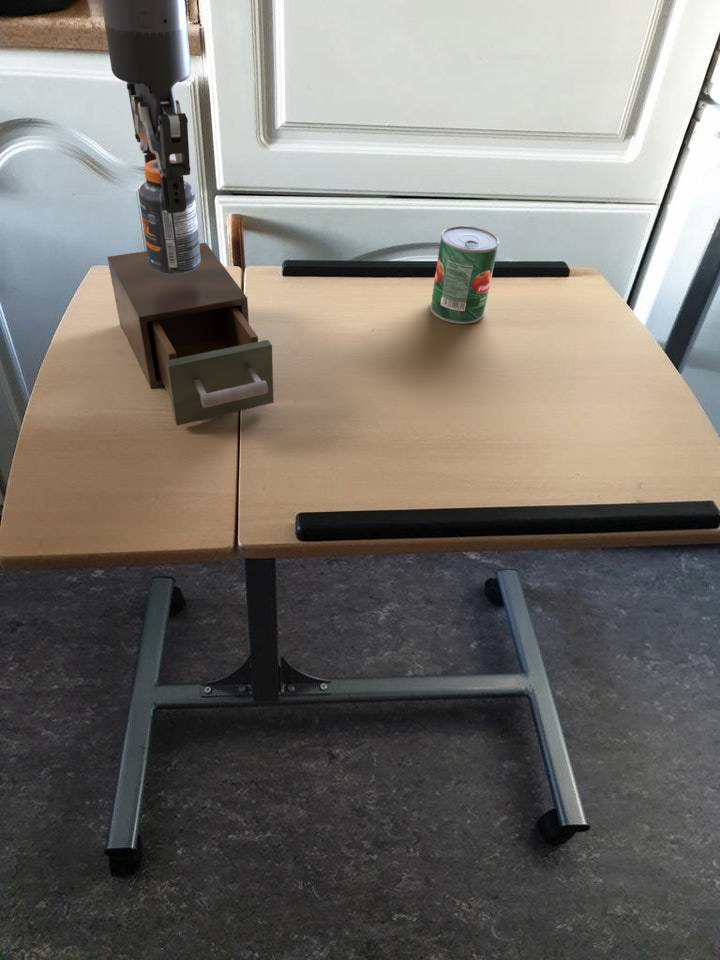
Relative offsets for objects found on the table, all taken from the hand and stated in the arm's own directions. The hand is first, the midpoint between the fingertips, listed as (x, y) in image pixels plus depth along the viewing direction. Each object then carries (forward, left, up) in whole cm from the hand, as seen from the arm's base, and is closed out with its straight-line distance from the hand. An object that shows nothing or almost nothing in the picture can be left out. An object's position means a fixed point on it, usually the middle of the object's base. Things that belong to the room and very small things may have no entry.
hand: (167, 199), depth 77 cm
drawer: (0, -11, -18) cm, 21 cm away
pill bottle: (0, 0, -8) cm, 8 cm away
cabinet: (0, +1, -19) cm, 19 cm away
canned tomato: (+39, -4, -19) cm, 44 cm away
